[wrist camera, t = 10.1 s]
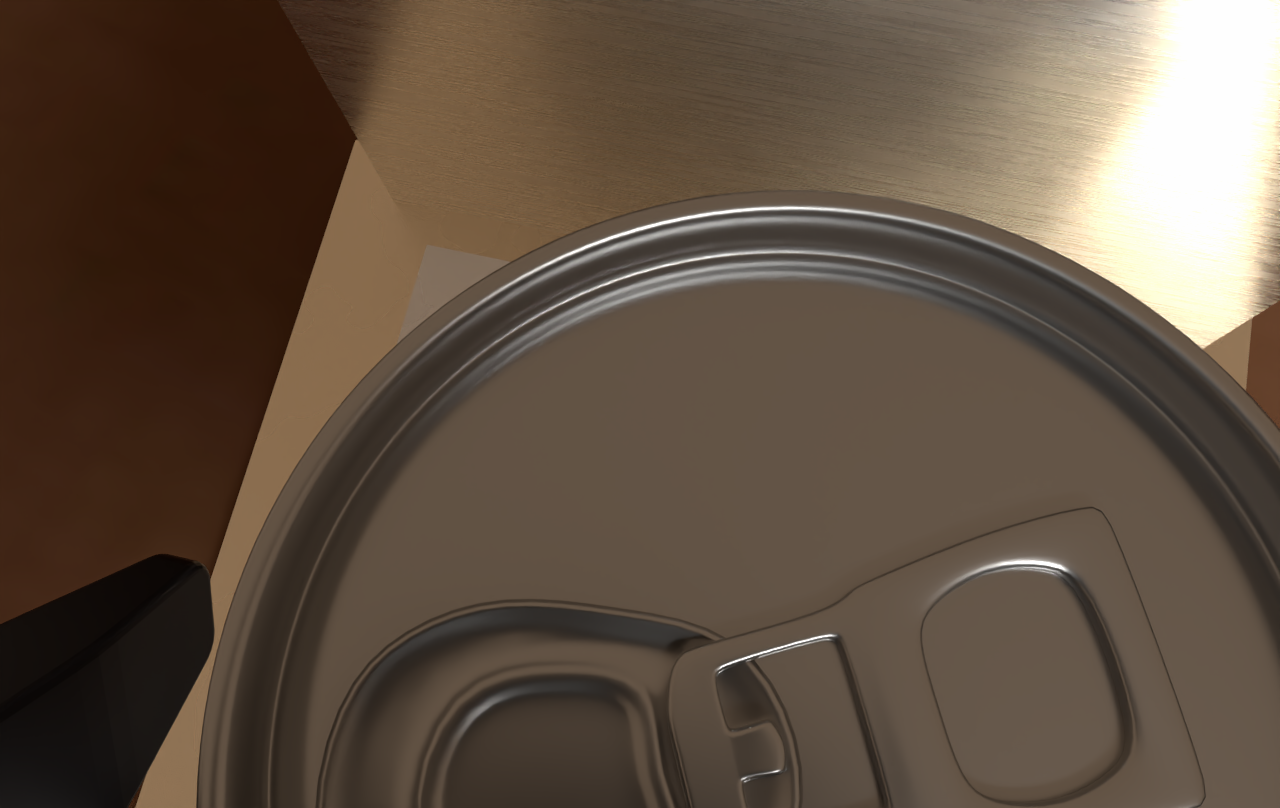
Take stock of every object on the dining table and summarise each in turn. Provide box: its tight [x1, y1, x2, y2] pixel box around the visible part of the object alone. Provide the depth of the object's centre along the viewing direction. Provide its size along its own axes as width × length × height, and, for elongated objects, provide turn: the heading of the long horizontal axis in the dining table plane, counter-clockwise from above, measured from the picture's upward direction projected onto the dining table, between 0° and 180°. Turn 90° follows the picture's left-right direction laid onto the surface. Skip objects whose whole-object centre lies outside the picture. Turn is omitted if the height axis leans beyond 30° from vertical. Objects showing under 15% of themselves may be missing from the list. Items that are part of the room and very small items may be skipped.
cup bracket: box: [135, 0, 1280, 808], centre depth 11 cm, size 16×16×13 cm
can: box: [196, 190, 1280, 808], centre depth 11 cm, size 6×6×12 cm
